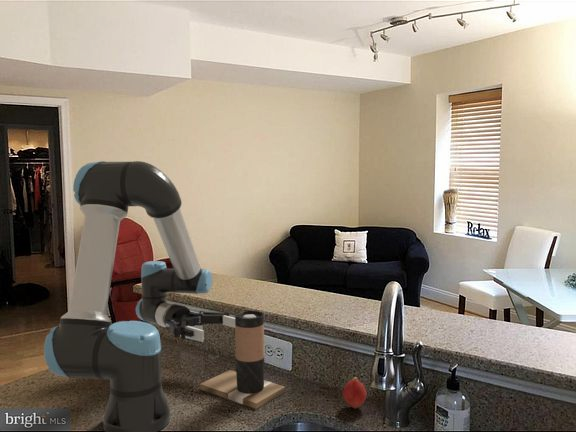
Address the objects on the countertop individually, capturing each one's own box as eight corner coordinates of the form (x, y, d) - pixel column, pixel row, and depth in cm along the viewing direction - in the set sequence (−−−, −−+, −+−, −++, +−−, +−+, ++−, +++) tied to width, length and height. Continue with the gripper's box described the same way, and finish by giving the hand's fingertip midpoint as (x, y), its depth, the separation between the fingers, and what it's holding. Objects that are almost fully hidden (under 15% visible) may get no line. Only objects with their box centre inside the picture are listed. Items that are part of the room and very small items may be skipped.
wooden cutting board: (285, 392, 136) (285, 386, 136) (256, 409, 126) (256, 403, 126) (230, 374, 148) (229, 369, 148) (199, 389, 138) (199, 383, 138)
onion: (338, 408, 126) (338, 377, 126) (351, 400, 131) (351, 370, 130) (357, 415, 122) (357, 383, 122) (370, 407, 127) (371, 376, 126)
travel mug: (264, 394, 131) (263, 318, 129) (234, 394, 131) (233, 318, 130) (265, 382, 139) (264, 310, 137) (237, 382, 139) (236, 310, 137)
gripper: (205, 319, 164) (253, 332, 150) (138, 338, 145) (186, 355, 131) (205, 296, 163) (252, 307, 150) (137, 313, 144) (185, 326, 131)
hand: (222, 329), depth 140 cm, fingers open, 13 cm apart
